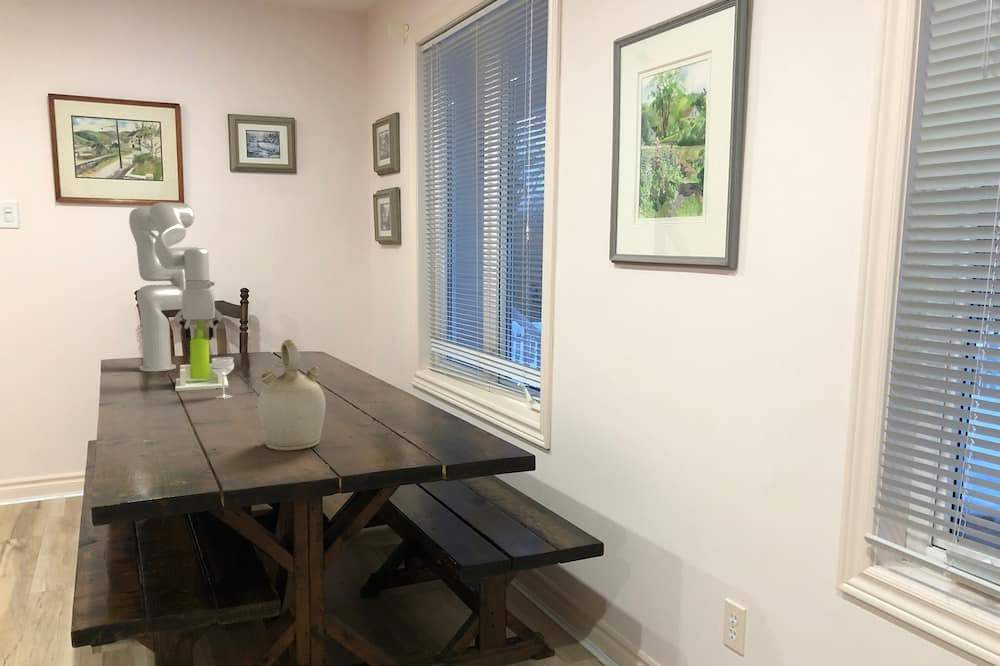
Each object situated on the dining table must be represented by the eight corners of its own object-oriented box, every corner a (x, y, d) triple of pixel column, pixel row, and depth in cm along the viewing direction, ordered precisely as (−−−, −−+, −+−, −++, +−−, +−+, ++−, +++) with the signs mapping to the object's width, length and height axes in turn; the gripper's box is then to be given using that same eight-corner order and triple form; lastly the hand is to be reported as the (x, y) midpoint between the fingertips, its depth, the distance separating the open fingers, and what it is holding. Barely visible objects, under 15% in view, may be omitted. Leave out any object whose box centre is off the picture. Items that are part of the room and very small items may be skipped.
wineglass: (220, 400, 225) (218, 360, 224) (207, 397, 230) (206, 358, 228) (240, 396, 231) (238, 358, 229) (227, 393, 235) (225, 356, 233)
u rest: (176, 381, 255) (175, 364, 254) (226, 378, 261) (225, 361, 260) (175, 391, 239) (174, 372, 238) (228, 387, 245) (227, 369, 244)
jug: (258, 455, 167) (254, 344, 164) (260, 438, 182) (256, 336, 179) (328, 450, 171) (325, 342, 168) (324, 434, 186) (322, 334, 183)
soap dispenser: (208, 379, 247) (207, 319, 245) (187, 378, 247) (187, 318, 245) (215, 376, 253) (215, 318, 251) (194, 375, 253) (194, 317, 251)
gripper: (224, 284, 253) (226, 337, 255) (169, 285, 246) (171, 339, 248) (225, 286, 246) (227, 340, 248) (168, 286, 239) (171, 342, 242)
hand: (199, 339), depth 248 cm, fingers closed on soap dispenser, 5 cm apart
